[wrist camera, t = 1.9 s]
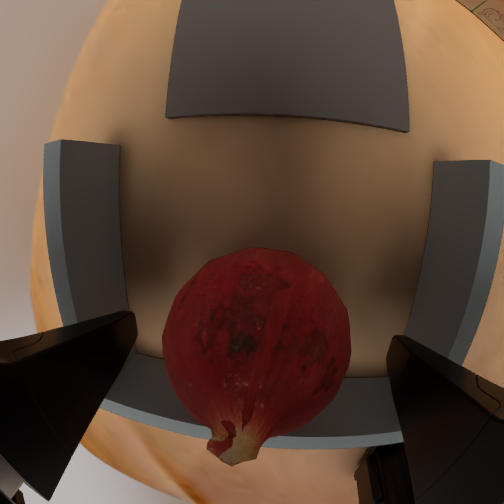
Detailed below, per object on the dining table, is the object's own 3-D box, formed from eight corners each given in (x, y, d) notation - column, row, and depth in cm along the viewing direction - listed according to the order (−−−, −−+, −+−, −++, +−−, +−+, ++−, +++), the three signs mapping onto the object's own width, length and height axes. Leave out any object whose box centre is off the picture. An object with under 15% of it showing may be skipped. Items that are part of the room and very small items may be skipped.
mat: (385, -18, 7) (387, -22, 7) (405, 132, 9) (409, 131, 9) (191, -26, 8) (188, -30, 8) (169, 119, 10) (165, 117, 10)
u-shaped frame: (450, 166, 9) (507, 167, 6) (398, 388, 13) (419, 439, 9) (103, 147, 11) (44, 143, 7) (125, 362, 14) (91, 404, 10)
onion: (204, 221, 11) (72, 301, 4) (343, 238, 11) (438, 352, 3) (201, 339, 13) (132, 473, 5) (318, 355, 12) (332, 506, 5)
